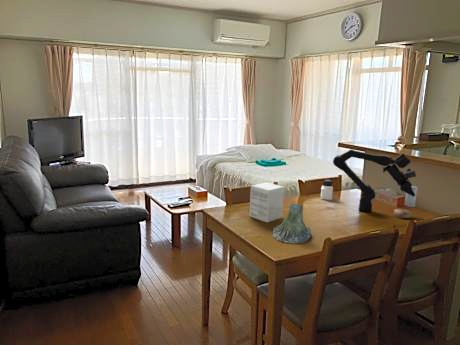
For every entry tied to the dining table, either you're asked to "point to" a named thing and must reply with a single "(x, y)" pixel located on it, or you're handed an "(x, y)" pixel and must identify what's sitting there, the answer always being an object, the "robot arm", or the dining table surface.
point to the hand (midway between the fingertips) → (413, 194)
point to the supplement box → (266, 201)
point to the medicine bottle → (327, 190)
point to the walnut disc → (402, 213)
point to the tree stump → (293, 227)
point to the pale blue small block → (411, 198)
